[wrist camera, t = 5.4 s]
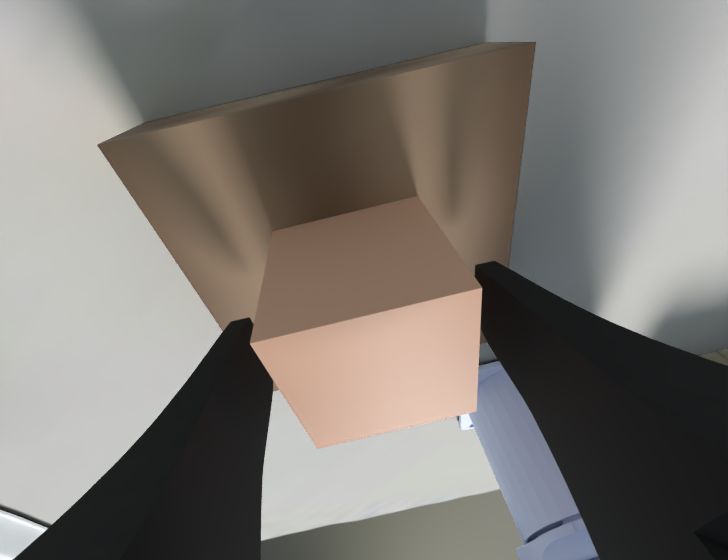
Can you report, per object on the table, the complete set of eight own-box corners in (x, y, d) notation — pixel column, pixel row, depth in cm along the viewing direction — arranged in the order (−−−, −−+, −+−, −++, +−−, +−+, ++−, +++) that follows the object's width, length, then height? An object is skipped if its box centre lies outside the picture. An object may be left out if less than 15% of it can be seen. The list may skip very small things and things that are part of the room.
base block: (485, 42, 11) (535, 42, 8) (474, 300, 18) (499, 339, 16) (144, 122, 11) (97, 144, 8) (270, 347, 18) (264, 393, 16)
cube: (417, 195, 11) (482, 288, 7) (428, 304, 14) (476, 411, 10) (272, 231, 11) (249, 343, 7) (315, 331, 14) (317, 448, 10)
